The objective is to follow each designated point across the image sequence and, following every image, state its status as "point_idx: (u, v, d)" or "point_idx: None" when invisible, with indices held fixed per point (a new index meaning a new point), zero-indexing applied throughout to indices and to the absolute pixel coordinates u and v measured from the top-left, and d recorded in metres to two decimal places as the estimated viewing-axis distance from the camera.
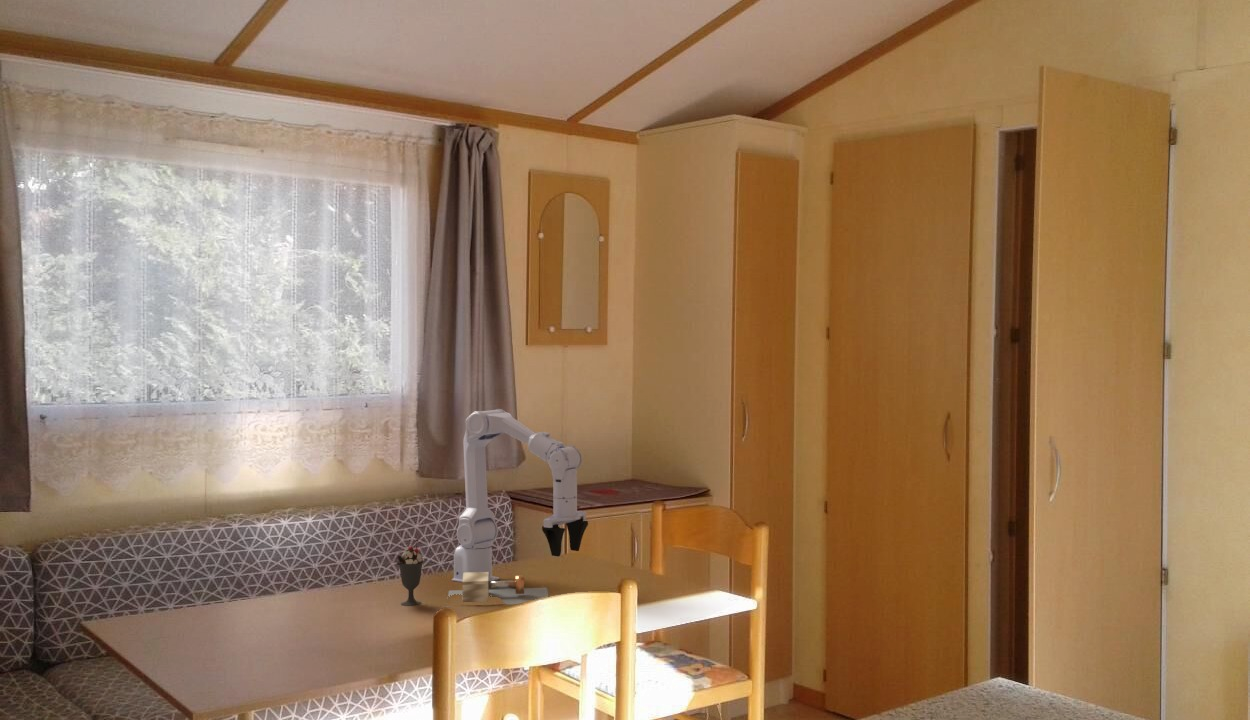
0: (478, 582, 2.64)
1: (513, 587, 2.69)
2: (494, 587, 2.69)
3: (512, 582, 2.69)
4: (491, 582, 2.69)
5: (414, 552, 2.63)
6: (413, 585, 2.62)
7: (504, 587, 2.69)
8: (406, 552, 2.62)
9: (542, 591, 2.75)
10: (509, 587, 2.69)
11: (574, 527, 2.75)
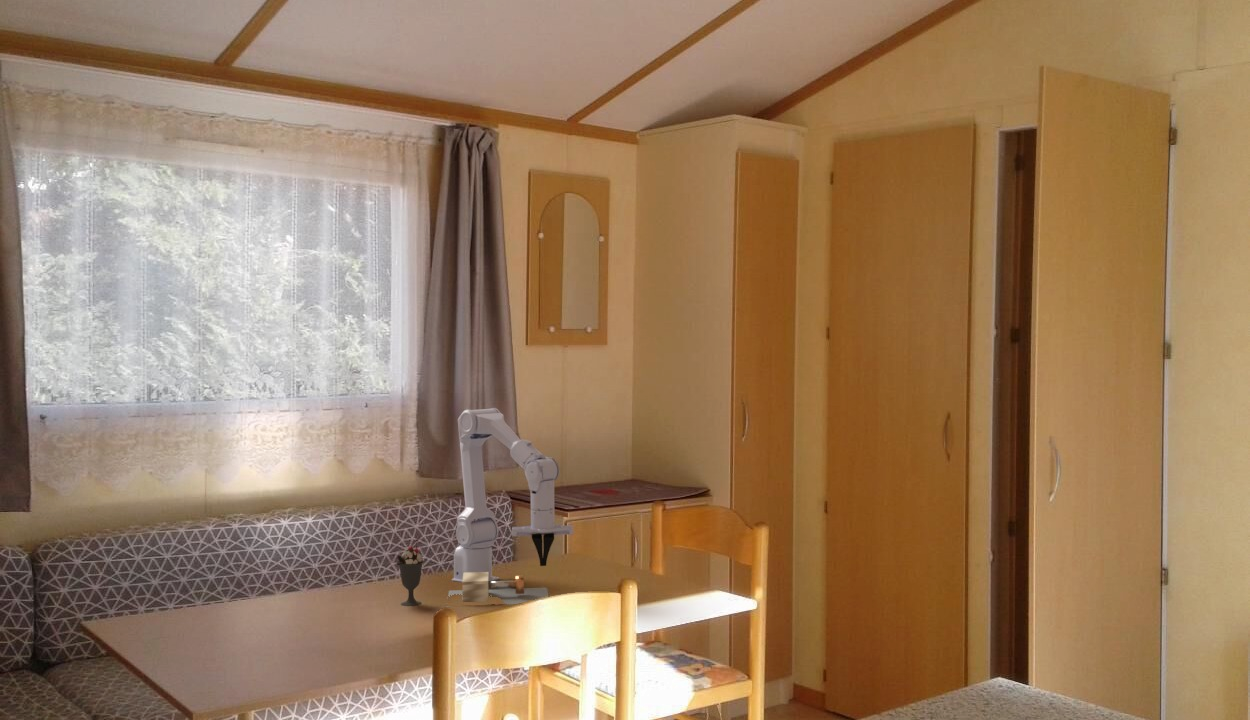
0: (478, 582, 2.64)
1: (513, 587, 2.69)
2: (494, 587, 2.69)
3: (512, 582, 2.69)
4: (491, 582, 2.69)
5: (414, 552, 2.63)
6: (413, 585, 2.62)
7: (504, 587, 2.69)
8: (406, 552, 2.62)
9: (542, 591, 2.75)
10: (509, 587, 2.69)
11: None
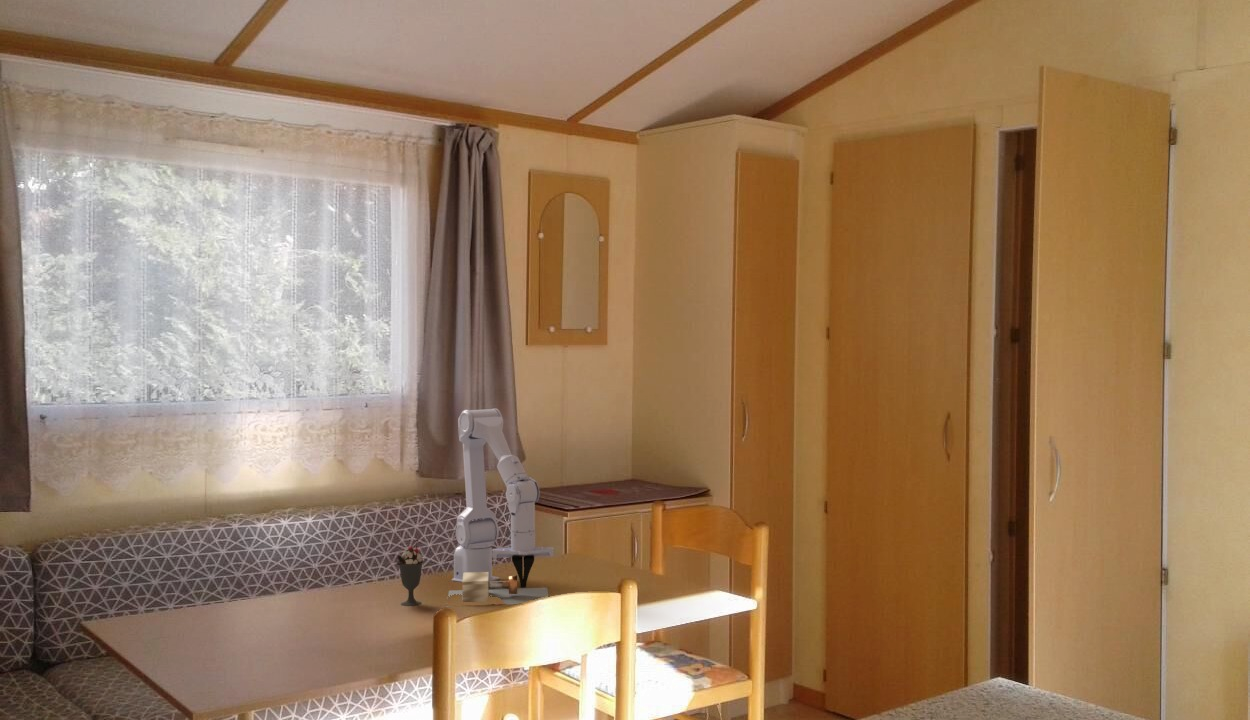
0: (478, 582, 2.64)
1: (506, 587, 2.69)
2: None
3: (506, 583, 2.69)
4: None
5: (414, 552, 2.63)
6: (413, 585, 2.62)
7: (497, 587, 2.69)
8: (406, 552, 2.62)
9: (542, 591, 2.75)
10: (502, 587, 2.69)
11: None
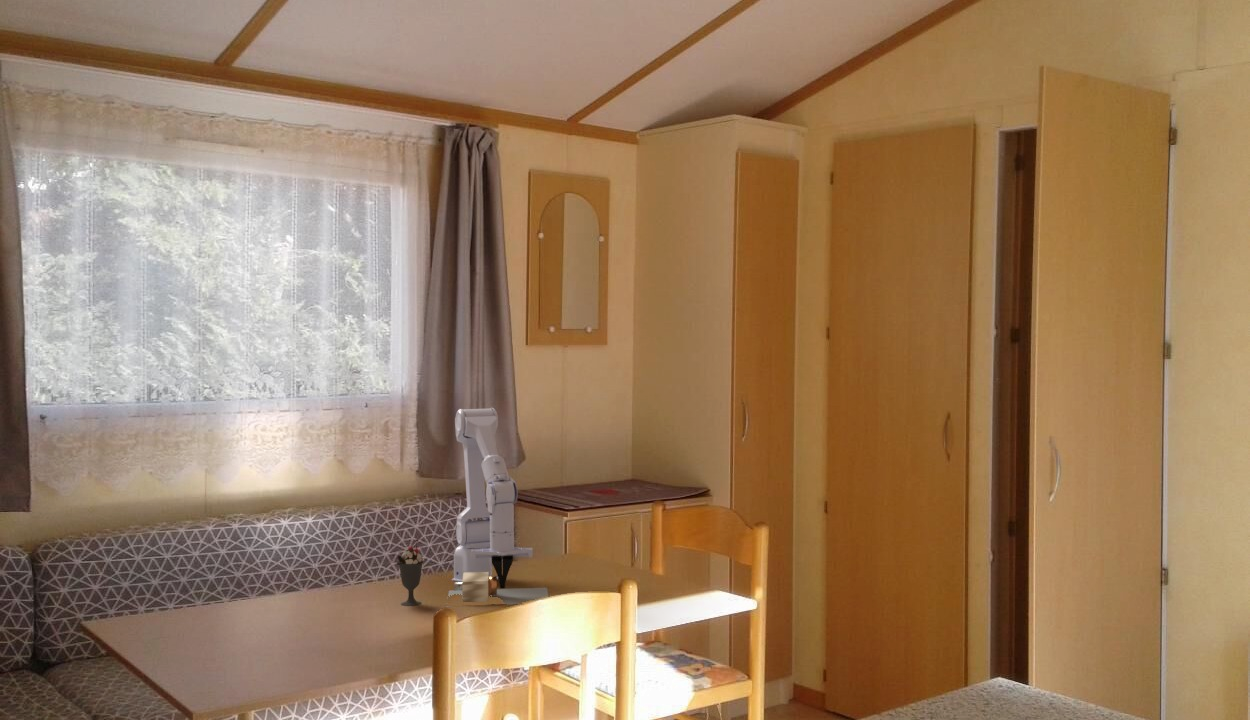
0: (478, 582, 2.64)
1: None
2: None
3: None
4: None
5: (414, 552, 2.63)
6: (413, 585, 2.62)
7: None
8: (406, 552, 2.62)
9: (542, 591, 2.75)
10: None
11: None
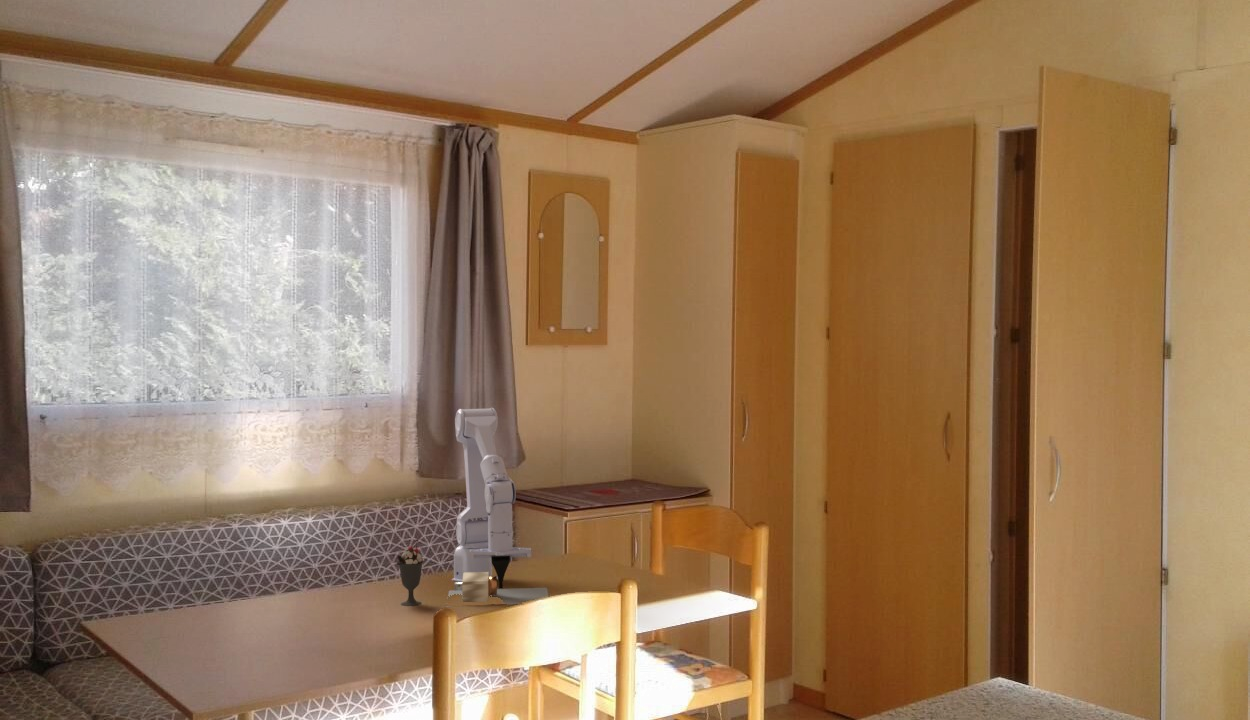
0: (478, 582, 2.64)
1: None
2: None
3: None
4: None
5: (414, 552, 2.63)
6: (413, 585, 2.62)
7: None
8: (406, 552, 2.62)
9: (542, 591, 2.75)
10: None
11: None
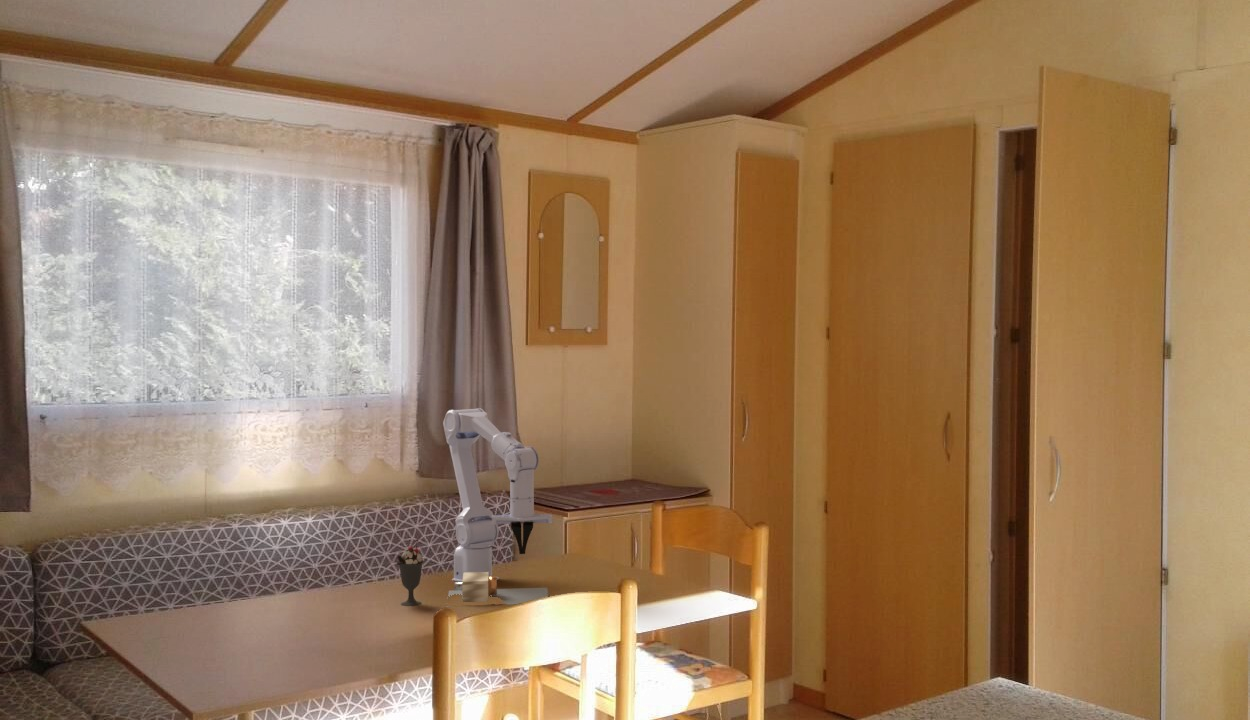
0: (478, 582, 2.64)
1: None
2: None
3: None
4: None
5: (414, 552, 2.63)
6: (413, 585, 2.62)
7: None
8: (406, 552, 2.62)
9: (542, 591, 2.75)
10: None
11: None
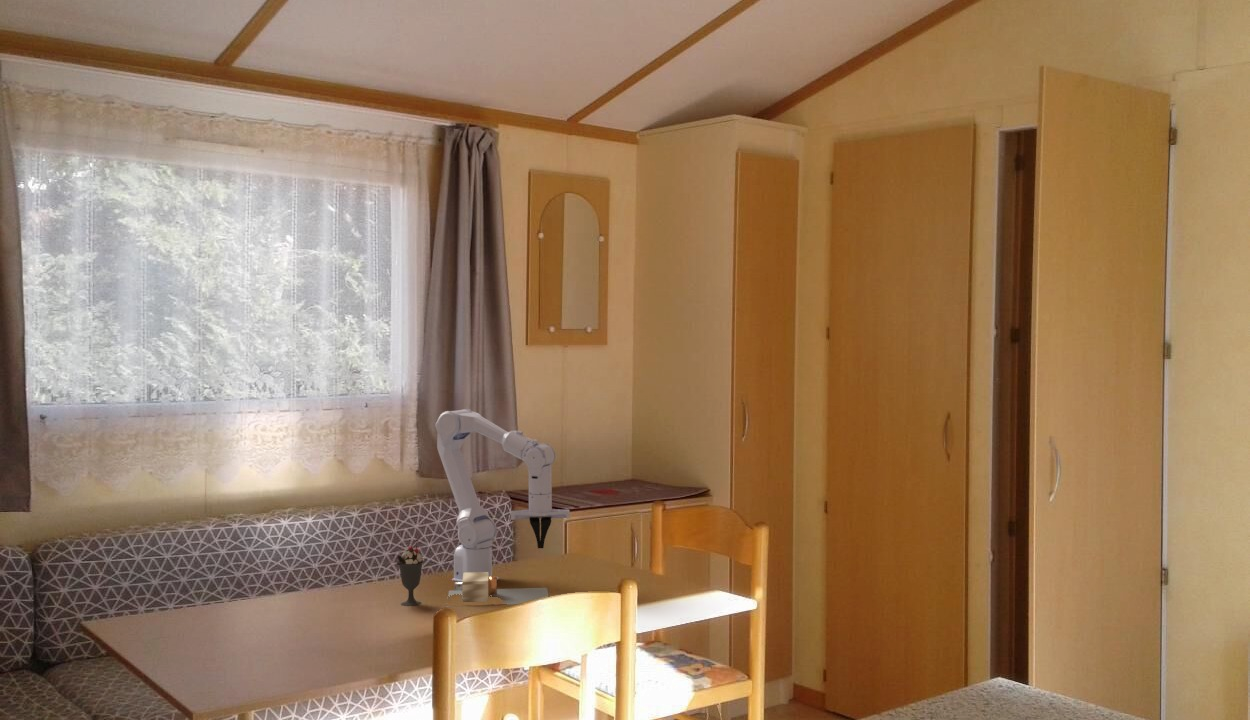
0: (478, 582, 2.64)
1: None
2: None
3: None
4: None
5: (414, 552, 2.63)
6: (413, 585, 2.62)
7: None
8: (406, 552, 2.62)
9: (542, 591, 2.75)
10: None
11: None
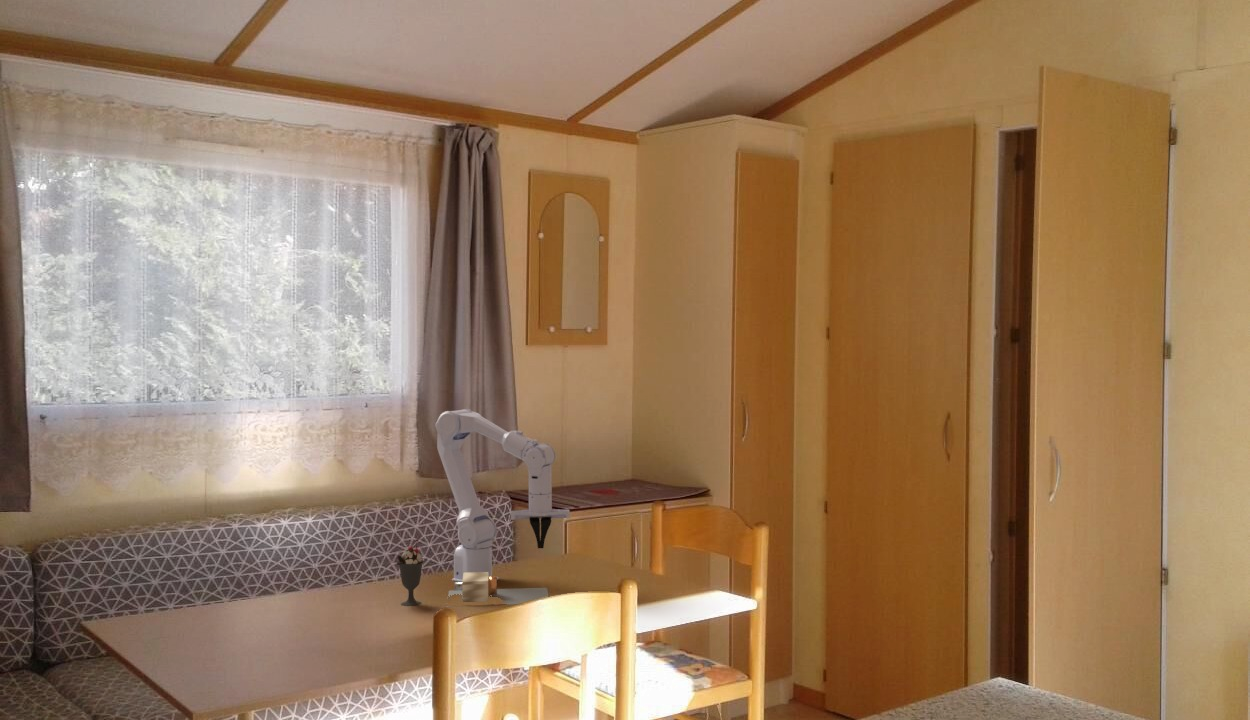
0: (478, 582, 2.64)
1: None
2: None
3: None
4: None
5: (414, 552, 2.63)
6: (413, 585, 2.62)
7: None
8: (406, 552, 2.62)
9: (542, 591, 2.75)
10: None
11: None
